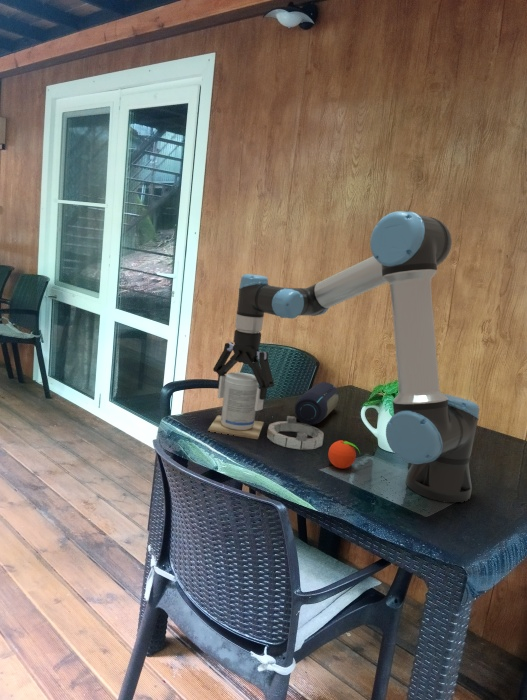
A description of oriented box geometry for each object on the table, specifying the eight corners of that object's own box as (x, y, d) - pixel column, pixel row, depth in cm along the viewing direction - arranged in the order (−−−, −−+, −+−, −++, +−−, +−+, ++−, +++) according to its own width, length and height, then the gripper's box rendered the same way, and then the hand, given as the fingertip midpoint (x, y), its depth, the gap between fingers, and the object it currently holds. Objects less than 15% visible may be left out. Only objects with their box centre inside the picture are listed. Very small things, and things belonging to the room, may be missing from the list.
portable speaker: (321, 431, 171) (325, 399, 169) (289, 423, 174) (293, 392, 173) (339, 411, 195) (343, 383, 193) (311, 405, 198) (315, 377, 196)
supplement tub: (260, 429, 164) (266, 379, 161) (233, 433, 158) (239, 381, 155) (239, 418, 171) (245, 370, 168) (213, 421, 165) (219, 372, 162)
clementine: (360, 467, 146) (364, 440, 145) (355, 476, 140) (359, 448, 138) (329, 459, 148) (333, 433, 147) (323, 468, 142) (327, 441, 141)
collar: (321, 453, 152) (323, 439, 151) (264, 444, 153) (266, 430, 153) (322, 434, 168) (324, 421, 167) (270, 425, 170) (272, 413, 169)
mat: (257, 439, 157) (257, 437, 157) (207, 431, 158) (208, 429, 158) (263, 424, 171) (263, 422, 170) (217, 416, 172) (217, 415, 172)
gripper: (292, 338, 155) (282, 413, 159) (223, 321, 169) (215, 390, 173) (276, 340, 149) (266, 417, 153) (206, 322, 163) (198, 394, 167)
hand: (239, 403), depth 163 cm, fingers open, 13 cm apart
